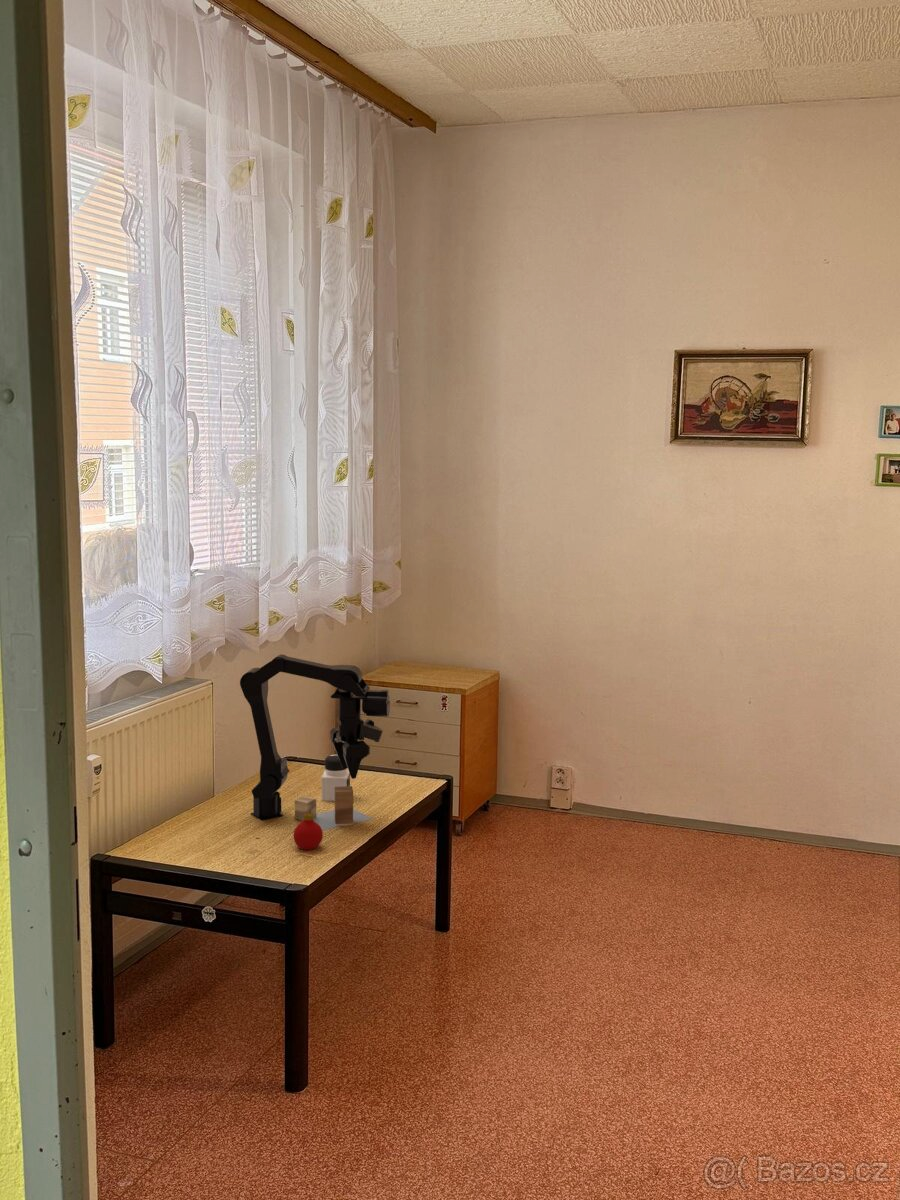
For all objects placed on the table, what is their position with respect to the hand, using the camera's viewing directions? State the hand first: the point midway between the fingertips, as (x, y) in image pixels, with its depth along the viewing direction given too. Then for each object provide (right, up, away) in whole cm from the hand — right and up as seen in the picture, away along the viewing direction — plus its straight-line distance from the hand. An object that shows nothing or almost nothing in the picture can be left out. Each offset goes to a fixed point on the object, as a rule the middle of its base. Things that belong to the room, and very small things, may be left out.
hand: (349, 773), depth 297 cm
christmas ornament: (-8, -16, -19) cm, 26 cm away
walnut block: (-1, -13, -1) cm, 13 cm away
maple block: (-12, -12, +2) cm, 17 cm away
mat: (-4, -13, +2) cm, 13 cm away
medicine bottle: (-5, -10, +20) cm, 23 cm away
